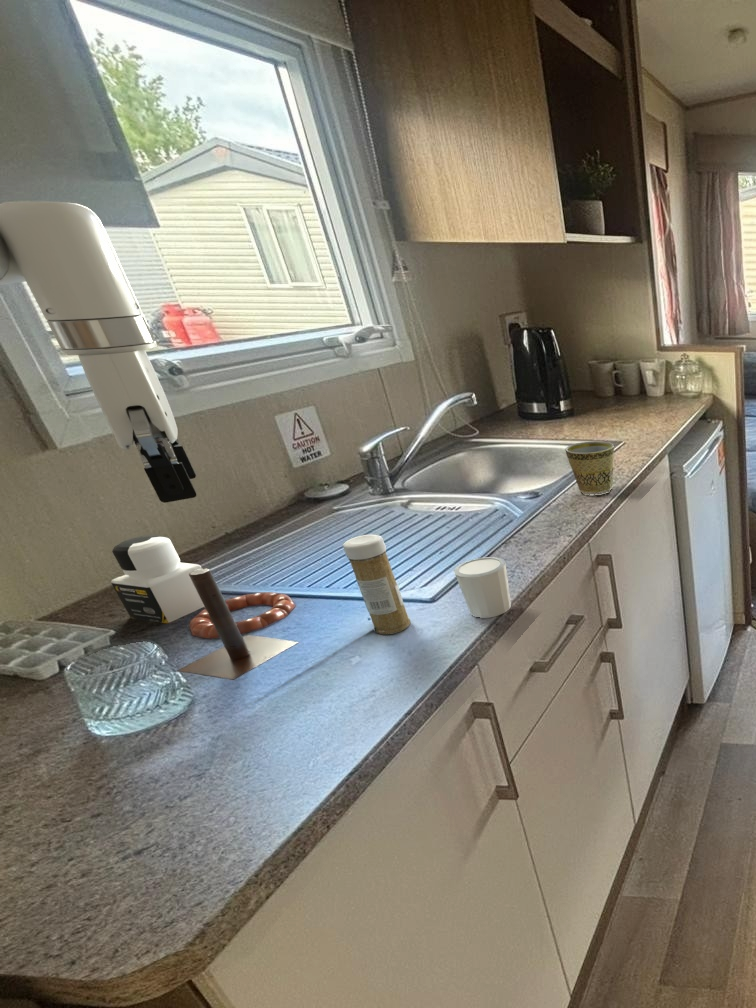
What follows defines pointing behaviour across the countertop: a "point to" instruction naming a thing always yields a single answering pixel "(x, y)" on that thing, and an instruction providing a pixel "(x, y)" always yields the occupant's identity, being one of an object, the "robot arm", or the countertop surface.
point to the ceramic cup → (592, 466)
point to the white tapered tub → (484, 586)
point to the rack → (229, 637)
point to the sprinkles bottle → (377, 583)
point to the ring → (281, 609)
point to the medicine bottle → (154, 580)
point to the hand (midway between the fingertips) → (180, 489)
